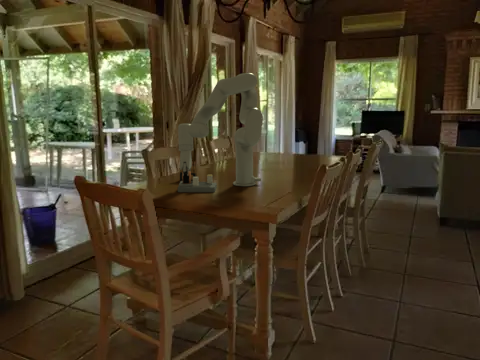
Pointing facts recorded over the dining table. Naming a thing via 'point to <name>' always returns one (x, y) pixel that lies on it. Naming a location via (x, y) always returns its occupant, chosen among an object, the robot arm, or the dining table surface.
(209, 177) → the switch tagged
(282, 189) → the dining table surface
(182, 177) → the lockout cap
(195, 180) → the switch
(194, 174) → the ammunition clip
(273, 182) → the dining table surface
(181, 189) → the panel
